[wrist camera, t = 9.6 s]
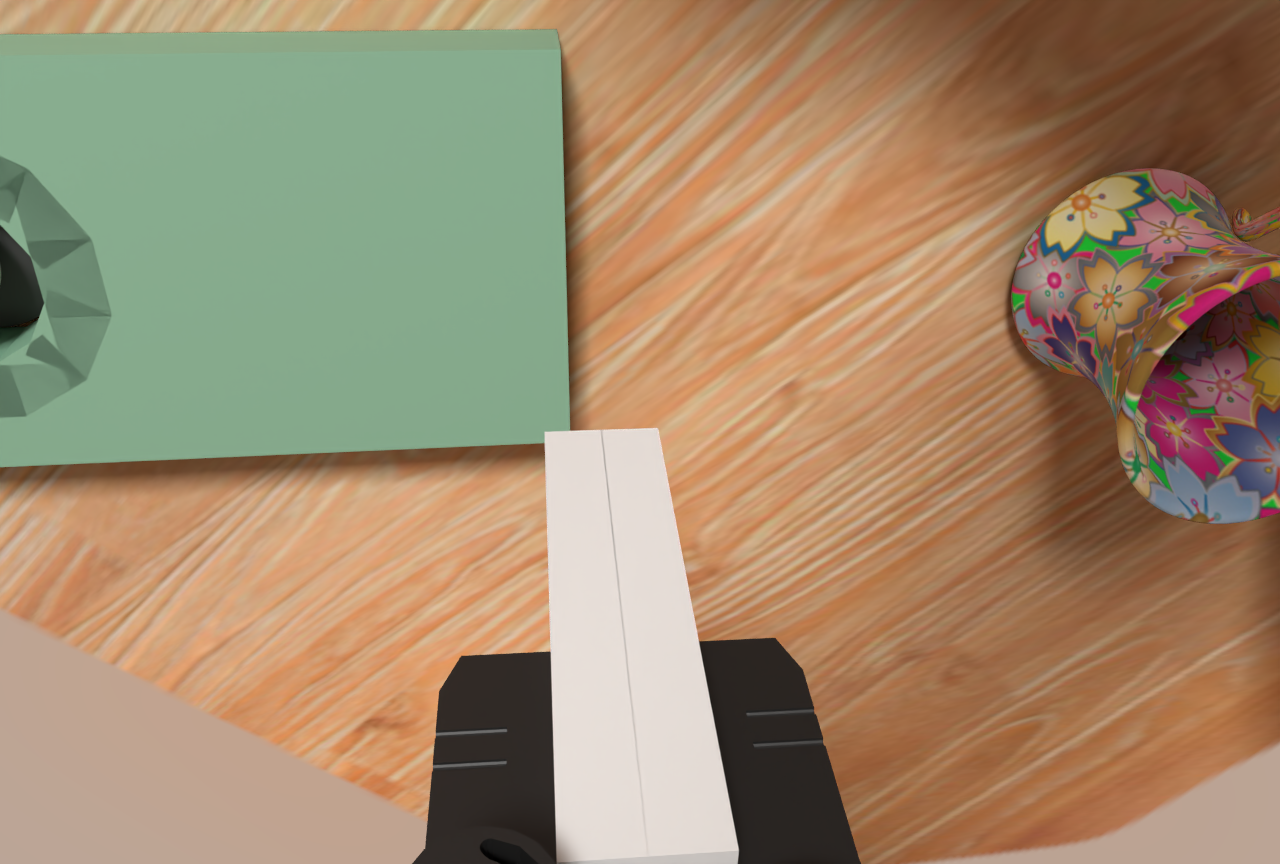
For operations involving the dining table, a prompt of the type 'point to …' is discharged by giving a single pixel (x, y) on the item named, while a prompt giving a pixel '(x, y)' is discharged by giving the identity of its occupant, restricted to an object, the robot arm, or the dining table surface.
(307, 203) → the green golf putting board
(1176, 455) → the mug
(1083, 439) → the dining table surface
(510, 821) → the robot arm
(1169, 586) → the dining table surface
